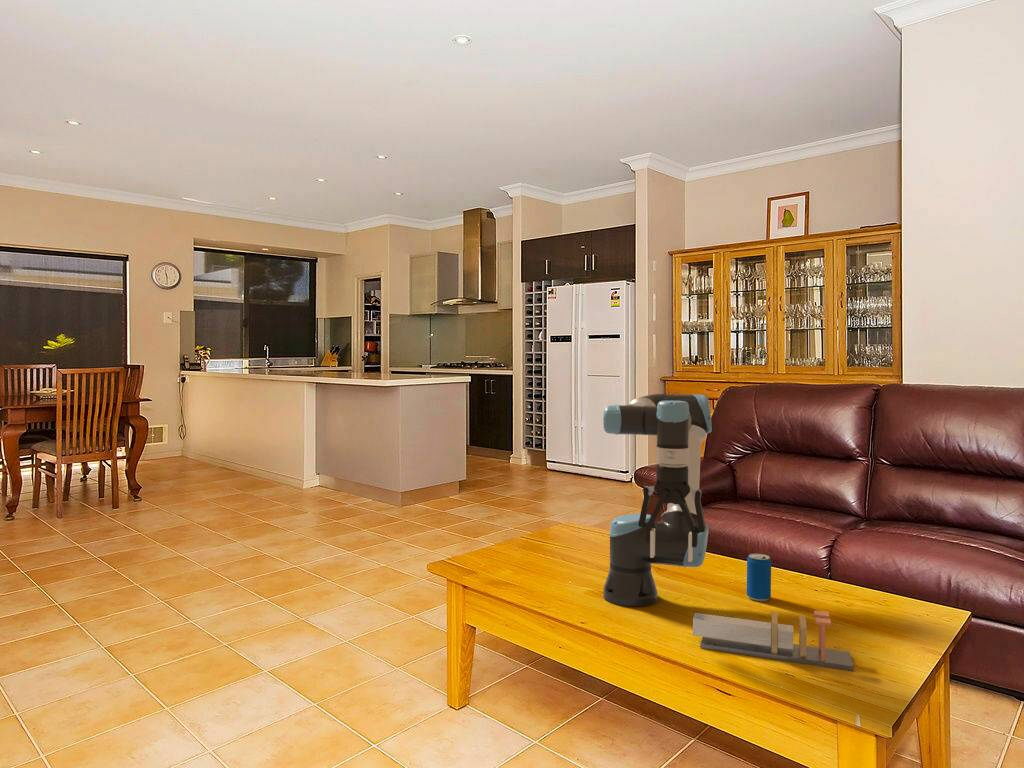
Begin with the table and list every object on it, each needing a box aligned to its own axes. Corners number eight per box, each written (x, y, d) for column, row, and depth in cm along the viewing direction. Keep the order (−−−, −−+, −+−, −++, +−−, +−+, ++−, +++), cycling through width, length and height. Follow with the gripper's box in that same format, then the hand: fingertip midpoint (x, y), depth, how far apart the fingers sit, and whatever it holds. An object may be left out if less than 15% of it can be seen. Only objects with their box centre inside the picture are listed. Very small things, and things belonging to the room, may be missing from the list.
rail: (700, 648, 158) (701, 614, 158) (703, 635, 165) (704, 603, 165) (853, 671, 146) (854, 634, 146) (849, 656, 154) (850, 621, 154)
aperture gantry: (815, 660, 149) (816, 621, 149) (813, 647, 156) (814, 610, 156) (830, 662, 148) (831, 623, 148) (827, 649, 155) (828, 612, 155)
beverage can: (772, 603, 188) (773, 560, 188) (748, 601, 189) (748, 558, 189) (768, 595, 194) (769, 553, 194) (745, 593, 196) (745, 552, 195)
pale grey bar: (692, 635, 160) (693, 618, 160) (694, 629, 164) (694, 612, 164) (793, 649, 152) (793, 631, 152) (792, 642, 156) (793, 625, 156)
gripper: (625, 464, 163) (624, 557, 164) (716, 469, 156) (715, 567, 156) (631, 460, 170) (630, 549, 171) (719, 465, 163) (717, 558, 163)
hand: (671, 558), depth 164 cm, fingers open, 8 cm apart
